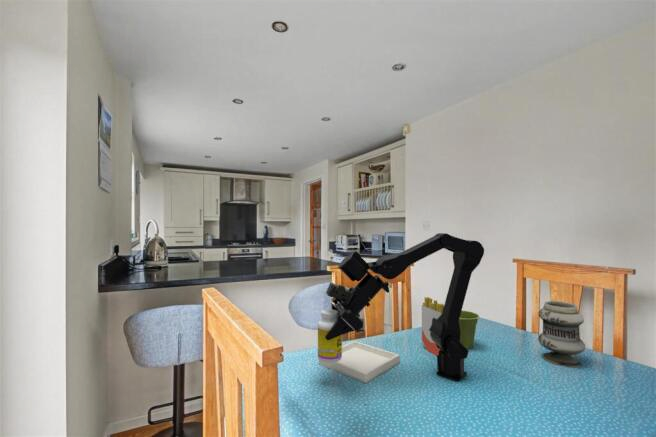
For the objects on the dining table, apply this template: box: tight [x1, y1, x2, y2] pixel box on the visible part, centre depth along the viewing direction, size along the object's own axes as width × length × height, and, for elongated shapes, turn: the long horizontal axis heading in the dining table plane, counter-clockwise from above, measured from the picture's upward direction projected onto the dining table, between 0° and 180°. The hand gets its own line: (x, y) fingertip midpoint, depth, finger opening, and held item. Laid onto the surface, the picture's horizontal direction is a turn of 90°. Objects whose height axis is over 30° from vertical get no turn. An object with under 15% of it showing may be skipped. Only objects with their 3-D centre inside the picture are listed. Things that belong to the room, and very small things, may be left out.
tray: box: [318, 340, 401, 384], centre depth 98 cm, size 18×18×2 cm
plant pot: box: [459, 309, 480, 350], centre depth 113 cm, size 12×12×11 cm
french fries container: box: [421, 296, 445, 357], centre depth 107 cm, size 5×11×18 cm, turn 17°
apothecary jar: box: [537, 300, 586, 368], centre depth 101 cm, size 12×12×18 cm
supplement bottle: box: [317, 309, 343, 363], centre depth 86 cm, size 7×7×13 cm
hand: (324, 334), depth 86 cm, fingers closed on supplement bottle, 7 cm apart
